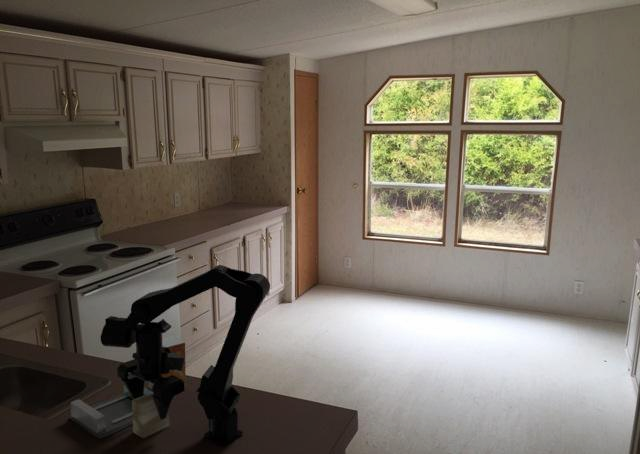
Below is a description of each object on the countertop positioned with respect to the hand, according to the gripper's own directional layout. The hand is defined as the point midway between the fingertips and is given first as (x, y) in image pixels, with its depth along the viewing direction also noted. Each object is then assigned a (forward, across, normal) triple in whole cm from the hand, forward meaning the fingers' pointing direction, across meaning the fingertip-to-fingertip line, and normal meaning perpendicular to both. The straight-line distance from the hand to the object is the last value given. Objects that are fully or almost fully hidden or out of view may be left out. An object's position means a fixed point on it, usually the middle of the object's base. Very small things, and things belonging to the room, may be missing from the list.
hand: (151, 411), depth 118 cm
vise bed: (+4, +12, +2) cm, 13 cm away
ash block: (+4, 0, 0) cm, 4 cm away
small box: (+4, +15, -15) cm, 22 cm away
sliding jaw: (+3, +12, -5) cm, 13 cm away
